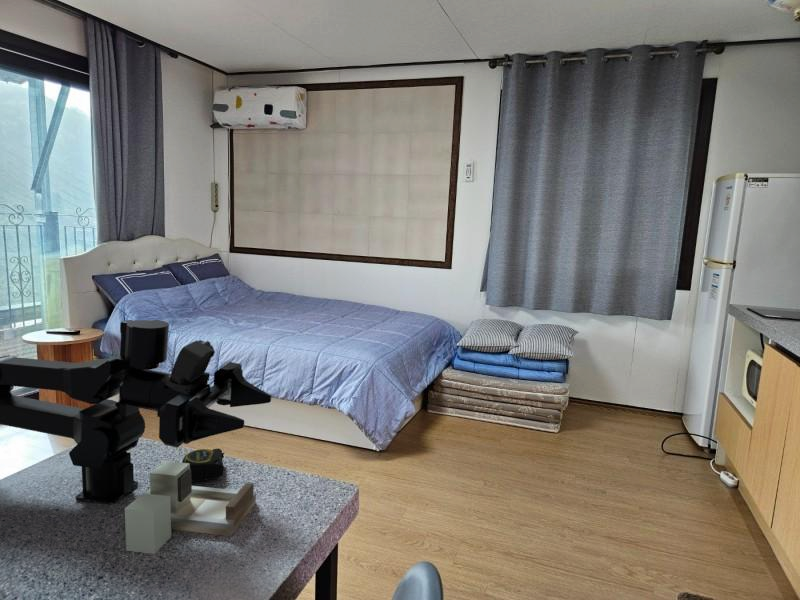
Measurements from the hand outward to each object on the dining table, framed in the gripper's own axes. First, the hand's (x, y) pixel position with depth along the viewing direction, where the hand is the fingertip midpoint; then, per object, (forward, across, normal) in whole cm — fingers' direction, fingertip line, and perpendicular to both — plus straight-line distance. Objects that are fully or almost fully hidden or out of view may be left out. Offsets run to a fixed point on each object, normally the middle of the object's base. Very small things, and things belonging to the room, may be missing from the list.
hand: (258, 410), depth 78 cm
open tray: (-7, -3, +17) cm, 18 cm away
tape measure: (-12, +8, +18) cm, 23 cm away
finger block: (-9, -12, +16) cm, 22 cm away
